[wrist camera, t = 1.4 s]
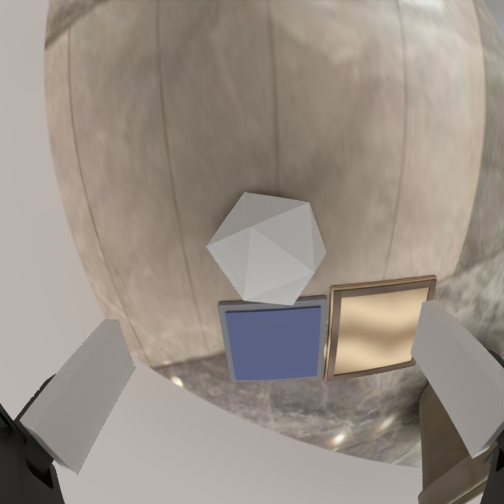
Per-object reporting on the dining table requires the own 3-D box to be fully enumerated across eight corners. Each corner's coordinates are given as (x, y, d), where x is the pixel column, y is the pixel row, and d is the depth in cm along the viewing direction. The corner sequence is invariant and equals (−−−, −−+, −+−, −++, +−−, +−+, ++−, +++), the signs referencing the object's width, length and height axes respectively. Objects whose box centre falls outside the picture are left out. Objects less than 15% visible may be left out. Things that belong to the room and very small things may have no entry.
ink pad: (219, 301, 28) (217, 307, 27) (325, 295, 27) (328, 300, 26) (231, 377, 31) (230, 384, 30) (320, 372, 30) (322, 379, 29)
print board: (330, 286, 27) (332, 289, 26) (434, 275, 26) (438, 278, 25) (323, 377, 31) (325, 382, 30) (413, 362, 30) (415, 365, 29)
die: (241, 289, 28) (309, 340, 20) (174, 248, 22) (235, 302, 15) (286, 222, 29) (364, 251, 21) (231, 167, 23) (317, 179, 15)
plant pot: (396, 445, 37) (421, 528, 16) (375, 381, 31) (424, 516, 10) (495, 382, 32) (539, 448, 12) (506, 294, 26) (591, 369, 6)
